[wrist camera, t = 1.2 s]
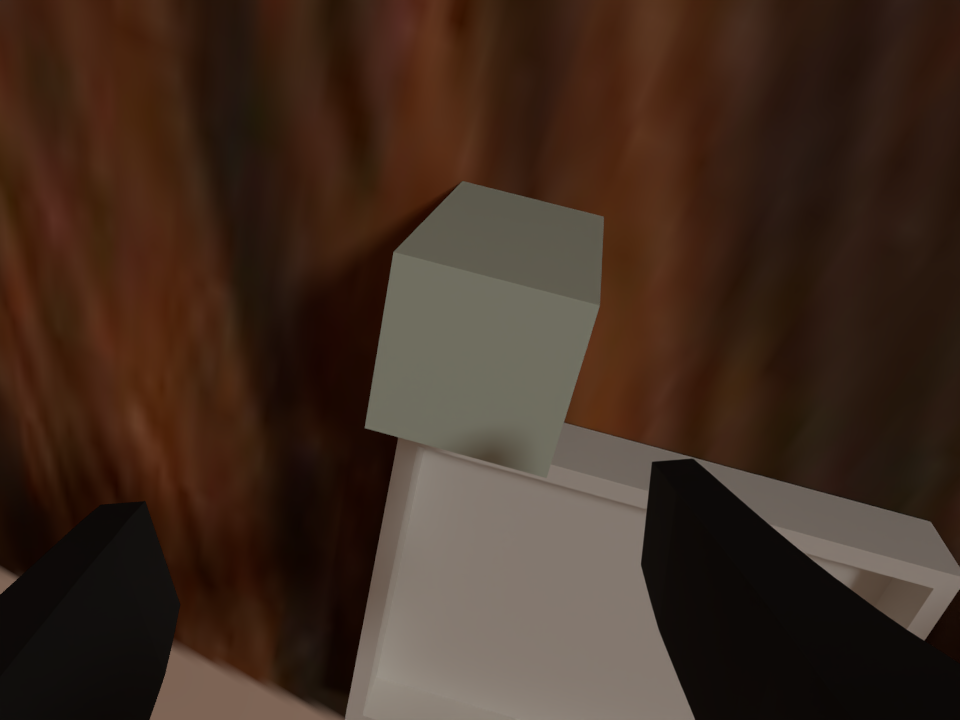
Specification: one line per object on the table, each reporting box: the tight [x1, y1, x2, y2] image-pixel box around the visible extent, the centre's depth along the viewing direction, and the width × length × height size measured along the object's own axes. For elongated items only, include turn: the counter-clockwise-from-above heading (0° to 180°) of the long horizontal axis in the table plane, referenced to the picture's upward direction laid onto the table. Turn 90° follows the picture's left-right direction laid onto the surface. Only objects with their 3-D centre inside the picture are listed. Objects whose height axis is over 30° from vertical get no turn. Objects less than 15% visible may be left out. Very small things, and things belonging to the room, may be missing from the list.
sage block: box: [365, 181, 604, 478], centre depth 18 cm, size 4×4×7 cm
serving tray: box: [345, 423, 960, 720], centre depth 24 cm, size 16×13×2 cm
